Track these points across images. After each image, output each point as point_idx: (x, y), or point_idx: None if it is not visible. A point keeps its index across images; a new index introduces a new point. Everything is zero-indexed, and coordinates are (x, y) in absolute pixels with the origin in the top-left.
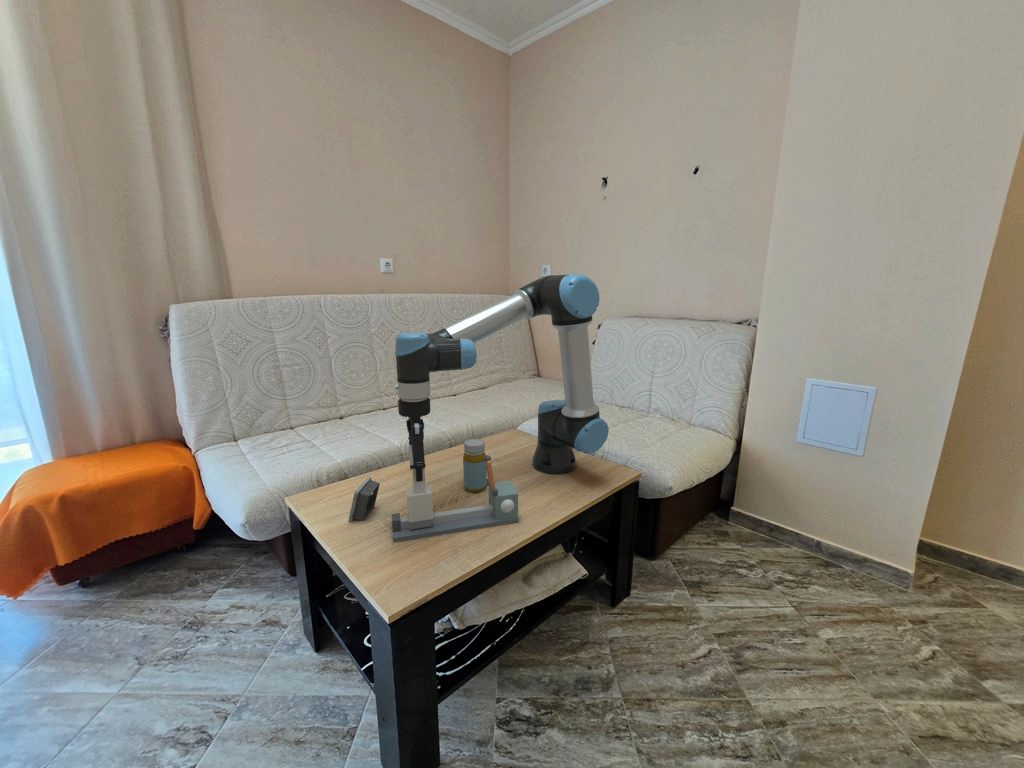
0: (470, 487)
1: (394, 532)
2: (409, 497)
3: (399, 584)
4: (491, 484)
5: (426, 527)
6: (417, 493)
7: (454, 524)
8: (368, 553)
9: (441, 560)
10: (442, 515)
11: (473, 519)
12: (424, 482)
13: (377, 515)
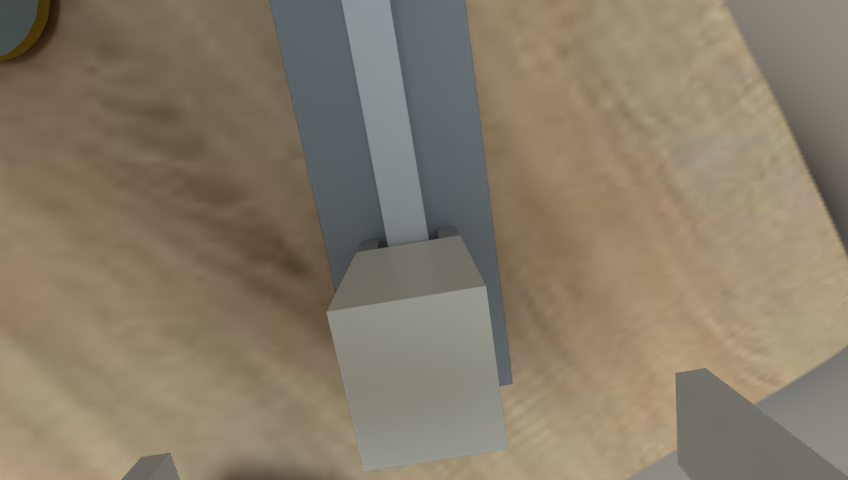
0: (25, 11)
1: None
2: (504, 431)
3: (757, 318)
4: None
5: None
6: (467, 389)
7: (443, 122)
8: (557, 441)
9: (666, 178)
10: (417, 187)
11: (408, 13)
12: (797, 446)
13: (295, 459)
